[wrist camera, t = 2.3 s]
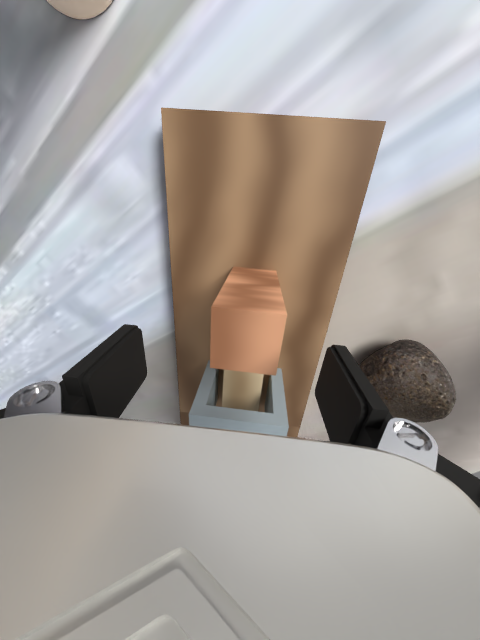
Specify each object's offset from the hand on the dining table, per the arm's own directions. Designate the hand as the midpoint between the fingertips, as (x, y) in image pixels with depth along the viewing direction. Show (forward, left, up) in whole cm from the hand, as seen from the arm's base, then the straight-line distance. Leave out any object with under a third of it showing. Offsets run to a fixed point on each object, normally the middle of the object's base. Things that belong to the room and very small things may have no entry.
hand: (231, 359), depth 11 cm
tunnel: (-1, +12, -12) cm, 17 cm away
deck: (-1, +6, -14) cm, 15 cm away
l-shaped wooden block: (-1, +7, -12) cm, 13 cm away
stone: (-17, +8, -14) cm, 24 cm away
